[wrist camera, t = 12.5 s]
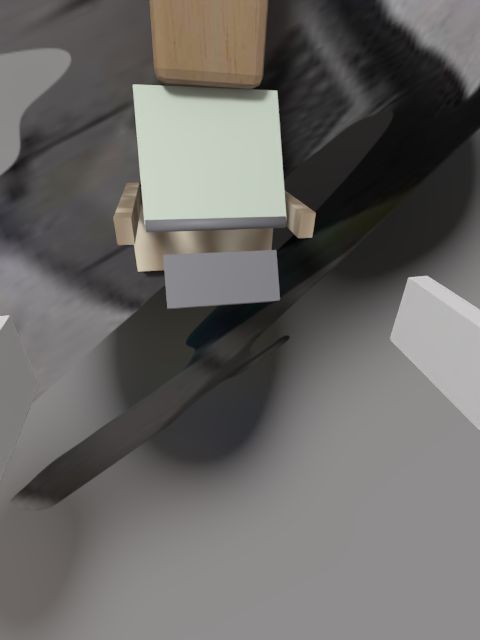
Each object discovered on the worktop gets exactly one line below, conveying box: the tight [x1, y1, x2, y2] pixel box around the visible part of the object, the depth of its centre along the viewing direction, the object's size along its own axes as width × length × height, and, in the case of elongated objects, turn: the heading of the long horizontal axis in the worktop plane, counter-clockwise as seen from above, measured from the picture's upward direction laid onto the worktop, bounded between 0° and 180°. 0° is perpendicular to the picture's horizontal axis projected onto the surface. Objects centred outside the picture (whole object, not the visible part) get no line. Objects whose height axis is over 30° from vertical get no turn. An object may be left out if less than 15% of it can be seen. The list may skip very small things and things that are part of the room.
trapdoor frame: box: [113, 183, 316, 272], centre depth 41 cm, size 19×11×16 cm, turn 88°
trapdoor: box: [133, 84, 287, 309], centre depth 35 cm, size 14×21×4 cm
